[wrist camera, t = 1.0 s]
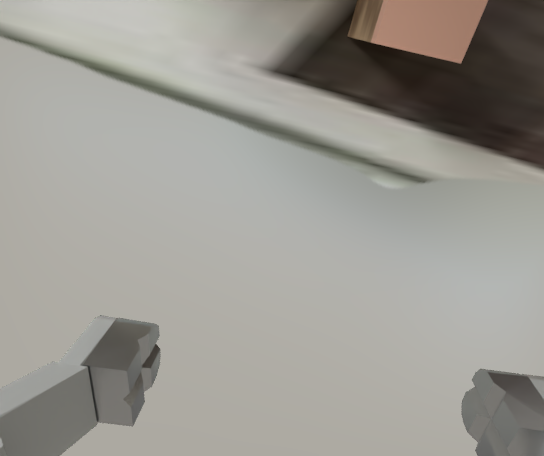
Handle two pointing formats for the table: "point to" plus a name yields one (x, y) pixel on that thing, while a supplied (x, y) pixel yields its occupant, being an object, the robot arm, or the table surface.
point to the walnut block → (419, 25)
